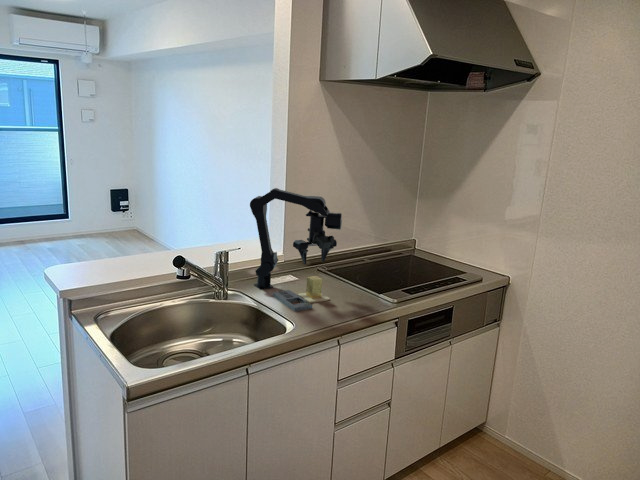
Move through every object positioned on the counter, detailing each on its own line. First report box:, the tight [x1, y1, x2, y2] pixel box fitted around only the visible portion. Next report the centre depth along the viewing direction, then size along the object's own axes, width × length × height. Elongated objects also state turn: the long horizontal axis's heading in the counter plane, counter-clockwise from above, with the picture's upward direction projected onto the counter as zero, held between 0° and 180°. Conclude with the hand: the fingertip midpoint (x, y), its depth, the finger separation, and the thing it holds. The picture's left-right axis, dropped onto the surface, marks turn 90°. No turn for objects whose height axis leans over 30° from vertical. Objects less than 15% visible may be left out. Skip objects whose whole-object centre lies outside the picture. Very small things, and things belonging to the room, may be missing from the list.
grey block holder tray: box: [272, 289, 313, 312], centre depth 198 cm, size 18×8×2 cm, turn 34°
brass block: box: [305, 275, 323, 299], centre depth 204 cm, size 4×4×8 cm
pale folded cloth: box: [297, 292, 331, 304], centre depth 205 cm, size 10×10×1 cm
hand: (313, 263), depth 208 cm, fingers open, 9 cm apart
